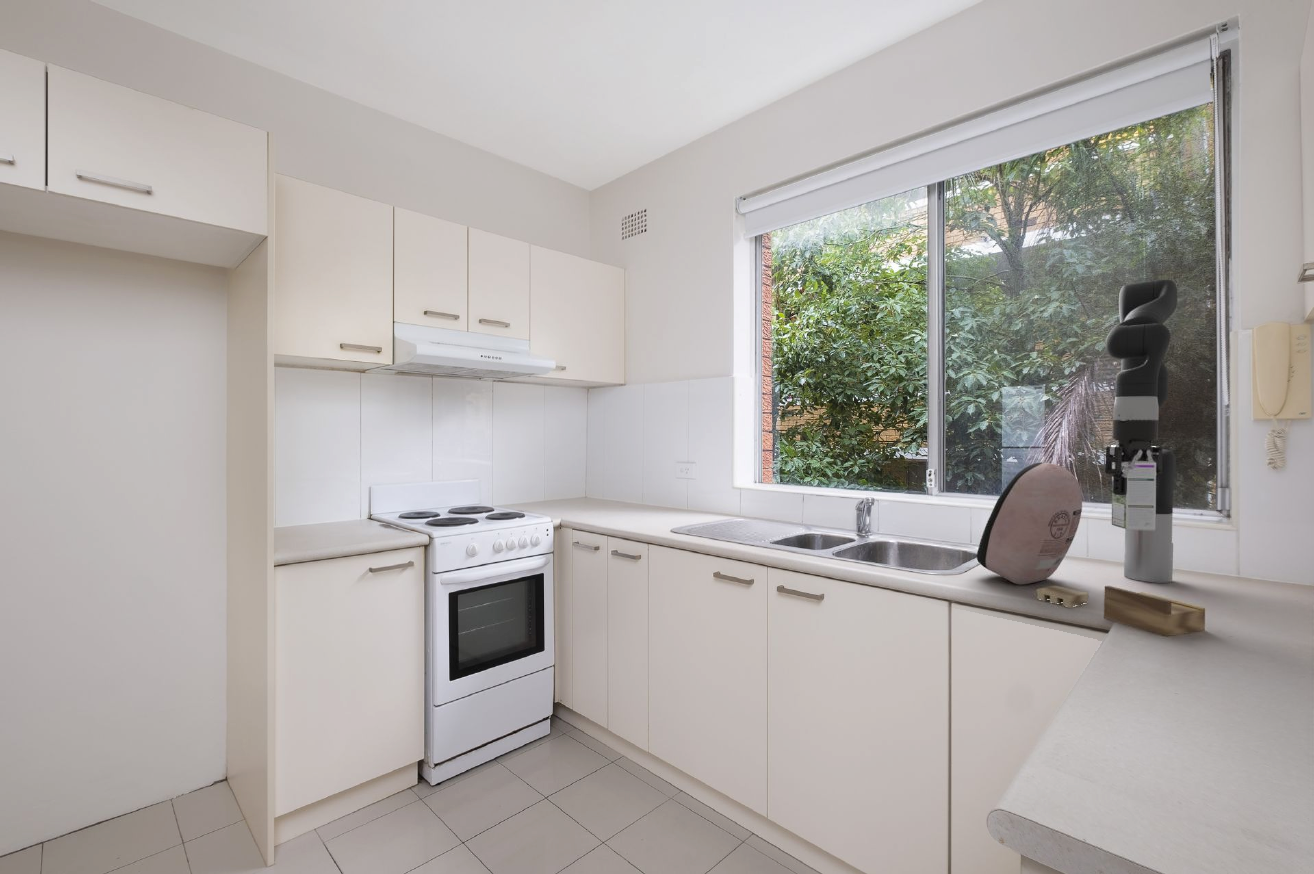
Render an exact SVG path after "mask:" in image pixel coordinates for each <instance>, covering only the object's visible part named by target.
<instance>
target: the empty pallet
mask: <svg viewBox="0 0 1314 874" xmlns="http://www.w3.org/2000/svg"><path fill="white" fill-rule="evenodd" d="M1036 594H1037V598H1036V599H1041V600H1043V601H1042V602H1046V601H1045V600H1047V599H1050V600H1049V603H1050V602H1052V603H1056V604H1057V603H1061V602H1063V603H1062V606H1063V605H1064V606H1067V607H1066V608H1068V607H1069V608H1068V609H1072V608H1074V607H1073V606H1075V605H1080V606H1082V605H1081V604H1083V603H1087V604H1088V597H1089V593H1088V592H1085V591H1079V590H1075V589H1071V588H1066V587H1062V586H1058V585H1050V586H1046V587H1042V588H1037V589H1036ZM1052 603H1051V604H1052ZM1056 604H1055V605H1056ZM1064 606H1063V607H1064ZM1071 607H1072V608H1071Z"/></svg>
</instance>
